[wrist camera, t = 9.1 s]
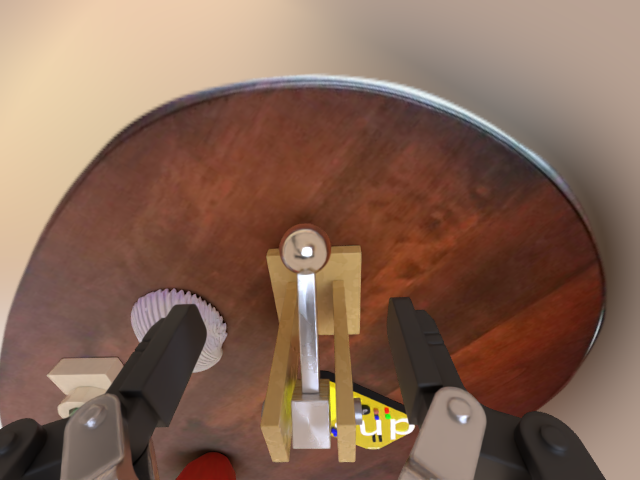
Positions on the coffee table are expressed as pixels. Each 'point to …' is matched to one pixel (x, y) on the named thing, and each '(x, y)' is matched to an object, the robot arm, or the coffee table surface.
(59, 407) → the button block
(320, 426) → the tap lever
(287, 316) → the bracket
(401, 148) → the coffee table surface
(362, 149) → the coffee table surface
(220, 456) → the apple
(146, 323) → the seashell
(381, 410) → the game console
